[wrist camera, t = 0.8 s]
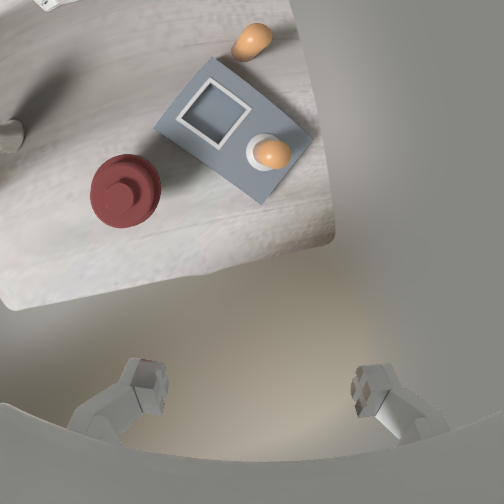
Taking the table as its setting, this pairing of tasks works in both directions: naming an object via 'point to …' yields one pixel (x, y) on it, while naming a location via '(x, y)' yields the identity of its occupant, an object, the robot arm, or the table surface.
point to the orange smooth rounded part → (251, 42)
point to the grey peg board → (234, 130)
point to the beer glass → (11, 136)
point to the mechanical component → (125, 191)
